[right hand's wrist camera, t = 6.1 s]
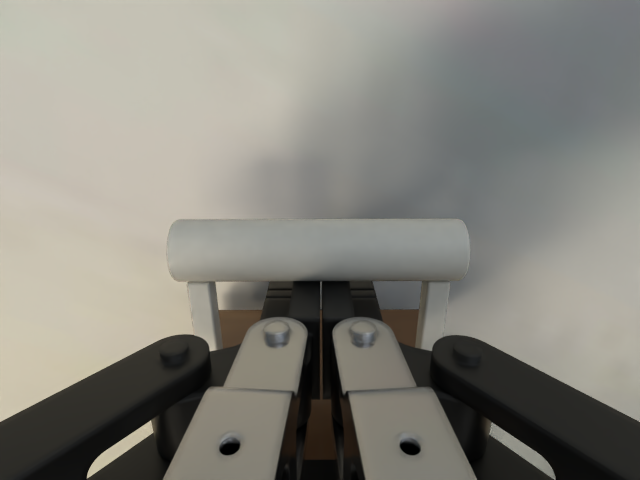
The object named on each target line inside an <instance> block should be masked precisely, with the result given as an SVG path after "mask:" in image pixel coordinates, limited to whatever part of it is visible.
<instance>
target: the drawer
mask: <svg viewBox="0 0 640 480" xmlns="http://www.w3.org/2000/svg"><path fill="white" fill-rule="evenodd" d="M469 262H470V239H469V234H468V230H467V227H466V225H465V223H464V222H463V221H462V220H460V219H179V220H177V221H175V222H174V223H173V224H172V226H171V228H170V230H169V234H168V239H167V263H168V268H169V271H170V274H171V276H172V278H173V279H174V280H176V281H179V282H188V283H187V289H188V296H189V303H190V309H191V316H192V323H193V330H194V335H195V336H199V337H201V338H203V339H204V340H206V342H207V343H208V345H209V350H210V351H215V350H219V349H224V348H229V347H233V346H235V345H238V344H240V343H242V342H243V339H244V337H245V335H246V332H247V331H248V329H249V328H250V327H251V326H252V325H253V324H255V323H257V322H259V321H260V318H261V314H262V310H218V302H217V293H216V285H215V281H422V288H421V297H420V306H419V309H416V310H380V312H381V315H382V319H383V323H385V324H387V325H388V326H389V327H390V328H391V329H392V331H393V332H394V335H395V337H396V339H397V341H399V342H401V343H403V344H405V345H408V346H411V347H415V348H419V349H424V350H429V351H432V347H433V344H434V343H435V342H436V341H437V340H438V339H440V338H442V337H443V333H444V326H445V319H446V312H447V304H448V297H449V290H450V282H449V281H459V280H461V279H463V278H464V277H465V275H466V273H467V271H468V267H469ZM302 480H338V479H337V471H336V463H335V455H334V447H333V439H332V431H331V400H323V383H322V310H320V400H312V408H311V414H310V417H309V431H308V439H307V447H306V455H305V463H304V471H303V479H302Z"/></svg>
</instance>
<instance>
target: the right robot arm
mask: <svg viewBox="0 0 640 480" xmlns="http://www.w3.org/2000/svg"><path fill="white" fill-rule="evenodd" d="M322 383H323V400H331V431H332V439H333V447H334V455H335V463H336V471H337V479H338V480H554V479H552V478H551V477H549V476H548V475H546V474H545V473H543V472H542V471H541V470H539V469H538V468H536V467H535V466H533V465H532V464H531V463H529V462H528V461H526V460H525V459H523V458H522V457H521V456H519V455H518V454H516V453H515V452H513V451H512V450H510V449H509V448H508V447H506V446H505V445H503V444H502V443H500V442H499V441H498V440H496V439H495V438H493V437H492V436H490V435H489V432H490V427H491V422H493V423H494V424H496V425H497V426H499V427H500V428H502V429H503V430H505V431H506V432H508V433H509V434H511V435H512V436H514V437H515V438H517V439H518V440H520V441H521V442H523V443H524V444H526V445H527V446H529V447H530V448H532V449H533V450H535V451H536V452H538V453H539V454H540V455H541V456H543V457H544V458H545V459H546V460H547V462H548V463H549V464H550V466H551V467H552V469H553V471H554V473H555V477H556V480H640V422H639V421H637V420H635V419H633V418H631V417H629V416H627V415H625V414H623V413H621V412H619V411H617V410H615V409H613V408H611V407H609V406H607V405H606V404H604V403H602V402H600V401H598V400H596V399H594V398H592V397H590V396H588V395H586V394H584V393H582V392H580V391H578V390H576V389H574V388H572V387H571V386H569V385H567V384H565V383H563V382H561V381H559V380H557V379H555V378H553V377H551V376H549V375H547V374H545V373H543V372H541V371H539V370H538V369H536V368H534V367H532V366H530V365H528V364H526V363H524V362H522V361H520V360H518V359H516V358H514V357H512V356H510V355H508V354H506V353H505V352H503V351H501V350H499V349H497V348H495V347H493V346H491V345H489V344H487V343H485V342H483V341H481V340H478V339H475V338H472V337H468V336H460V335H451V336H446V337H442V338H440V339H438V340H437V341H436V342H435V343H434V344H433V347H432V351H429V350H424V349H419V348H415V347H411V346H408V345H405V344H403V343H401V342H399V341H397V339H396V337H395V335H394V332H393V331H392V329H391V328H390V327H389V326H388V325H387V324H385V323H383V319H382V315H381V312H380V308H379V304H378V301H377V298H376V293H375V290H374V286H373V282H372V281H322ZM312 400H320V281H270V283H269V287H268V291H267V295H266V299H265V302H264V306H263V310H262V314H261V318H260V321H259V322H257V323H255V324H253V325H252V326H251V327H250V328H249V329H248V331H247V332H246V335H245V337H244V339H243V342H242V343H240V344H238V345H235V346H233V347H229V348H224V349H219V350H215V351H210V350H209V345H208V343H207V342H206V340H204V339H203V338H201V337H199V336H195V335H185V334H184V335H175V336H170V337H167V338H164V339H161V340H159V341H157V342H155V343H153V344H151V345H149V346H147V347H145V348H143V349H141V350H139V351H137V352H136V353H134V354H132V355H130V356H128V357H126V358H124V359H122V360H120V361H118V362H116V363H114V364H112V365H110V366H108V367H106V368H104V369H102V370H101V371H99V372H97V373H95V374H93V375H91V376H89V377H87V378H85V379H83V380H81V381H79V382H77V383H75V384H73V385H71V386H69V387H68V388H66V389H64V390H62V391H60V392H58V393H56V394H54V395H52V396H50V397H48V398H46V399H44V400H42V401H40V402H38V403H36V404H35V405H33V406H31V407H29V408H27V409H25V410H23V411H21V412H19V413H17V414H15V415H13V416H11V417H9V418H7V419H5V420H3V421H1V422H0V480H302V479H303V471H304V463H305V455H306V447H307V439H308V431H309V417H310V414H311V408H312ZM150 420H151V422H152V427H153V432H154V433H152V434H151V435H150V436H148V437H147V438H145V439H144V440H142V441H141V442H140V443H138V444H137V445H135V446H134V447H132V448H131V449H130V450H128V451H127V452H125V453H124V454H122V455H121V456H119V457H118V458H117V459H115V460H114V461H112V462H111V463H109V464H108V465H107V466H105V467H104V468H102V469H101V470H99V471H98V472H97V473H95V474H94V475H92V476H91V477H89V478H88V479H87V473H88V470H89V468H90V466H91V465H92V463H93V462H94V460H95V459H96V458H97V457H98V456H99V455H100V454H101V453H103V452H104V451H105V450H107V449H108V448H110V447H111V446H113V445H114V444H116V443H117V442H119V441H120V440H122V439H123V438H125V437H126V436H128V435H129V434H131V433H132V432H134V431H135V430H137V429H138V428H140V427H141V426H143V425H144V424H146V423H147V422H149V421H150Z"/></svg>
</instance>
